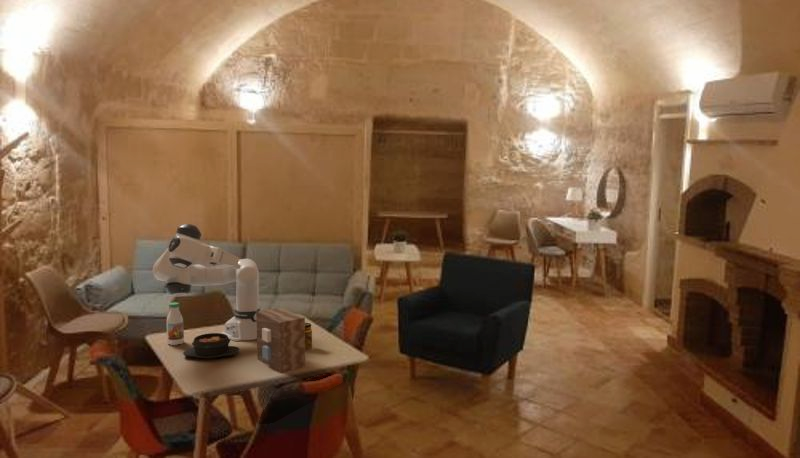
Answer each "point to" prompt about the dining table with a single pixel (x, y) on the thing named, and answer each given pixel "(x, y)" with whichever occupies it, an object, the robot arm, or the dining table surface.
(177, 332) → the milk bottle
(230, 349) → the casserole
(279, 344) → the block
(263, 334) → the white cube
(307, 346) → the condiment
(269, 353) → the blue cube
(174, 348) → the dining table surface
